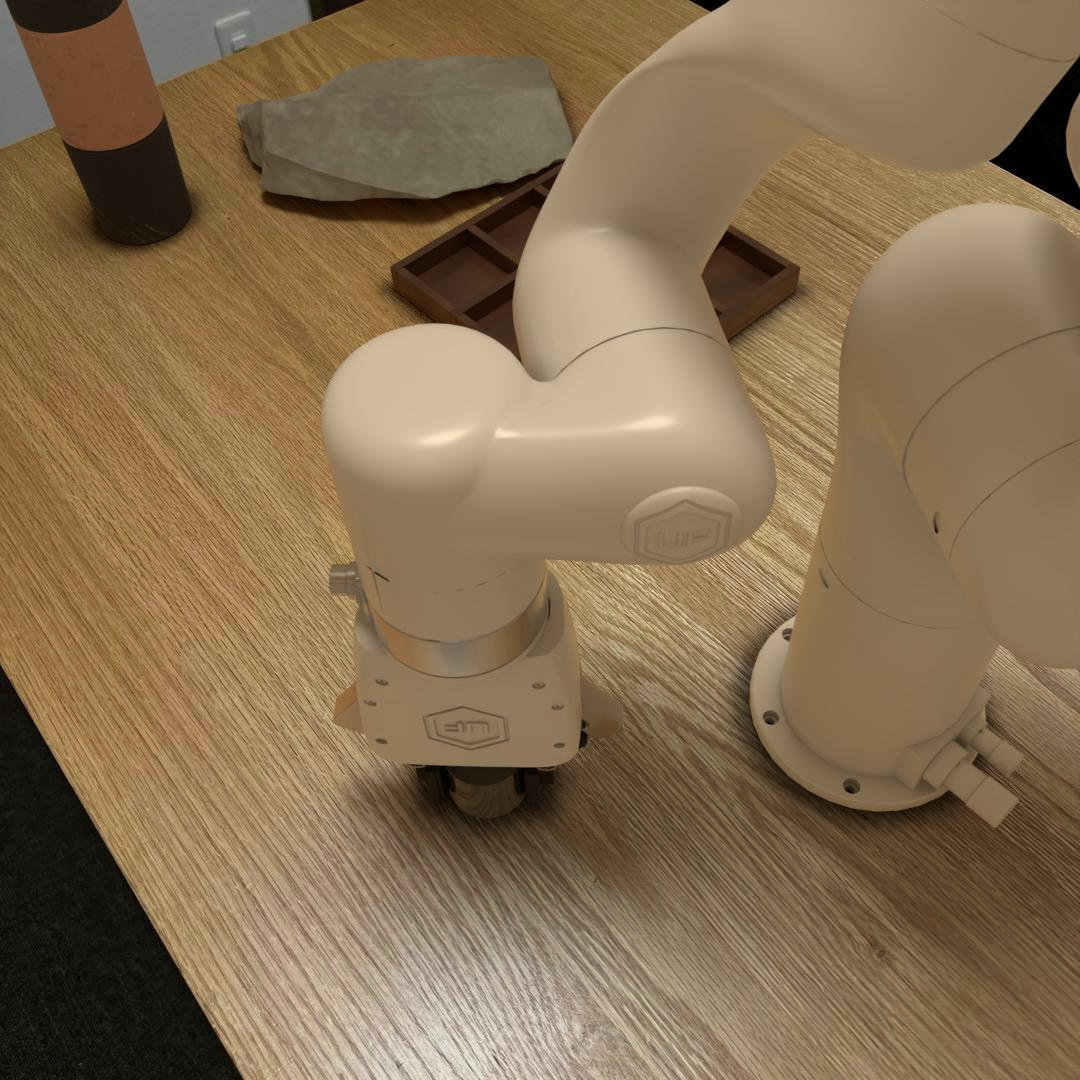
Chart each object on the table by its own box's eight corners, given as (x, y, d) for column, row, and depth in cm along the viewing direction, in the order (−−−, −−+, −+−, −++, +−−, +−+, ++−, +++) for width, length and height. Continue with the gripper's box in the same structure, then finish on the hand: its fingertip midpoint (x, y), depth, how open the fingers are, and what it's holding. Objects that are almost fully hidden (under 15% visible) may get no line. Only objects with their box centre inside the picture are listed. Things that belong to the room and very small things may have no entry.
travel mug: (93, 197, 96) (-8, -50, 80) (189, 176, 97) (108, -71, 81) (102, 256, 91) (-3, 7, 75) (201, 234, 92) (119, -16, 76)
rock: (234, 177, 86) (226, 35, 98) (248, 248, 90) (238, 104, 103) (595, 148, 90) (544, 15, 102) (590, 218, 94) (541, 83, 107)
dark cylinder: (546, 781, 64) (543, 747, 61) (484, 835, 62) (478, 803, 59) (492, 728, 66) (487, 693, 63) (431, 778, 64) (423, 745, 61)
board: (796, 290, 86) (800, 267, 84) (589, 442, 78) (589, 419, 77) (596, 165, 96) (596, 142, 94) (393, 289, 88) (389, 266, 86)
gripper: (240, 663, 48) (323, 841, 62) (663, 671, 47) (646, 850, 61) (273, 514, 52) (343, 713, 67) (660, 519, 51) (645, 720, 66)
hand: (488, 777), depth 64 cm, fingers closed on dark cylinder, 4 cm apart
